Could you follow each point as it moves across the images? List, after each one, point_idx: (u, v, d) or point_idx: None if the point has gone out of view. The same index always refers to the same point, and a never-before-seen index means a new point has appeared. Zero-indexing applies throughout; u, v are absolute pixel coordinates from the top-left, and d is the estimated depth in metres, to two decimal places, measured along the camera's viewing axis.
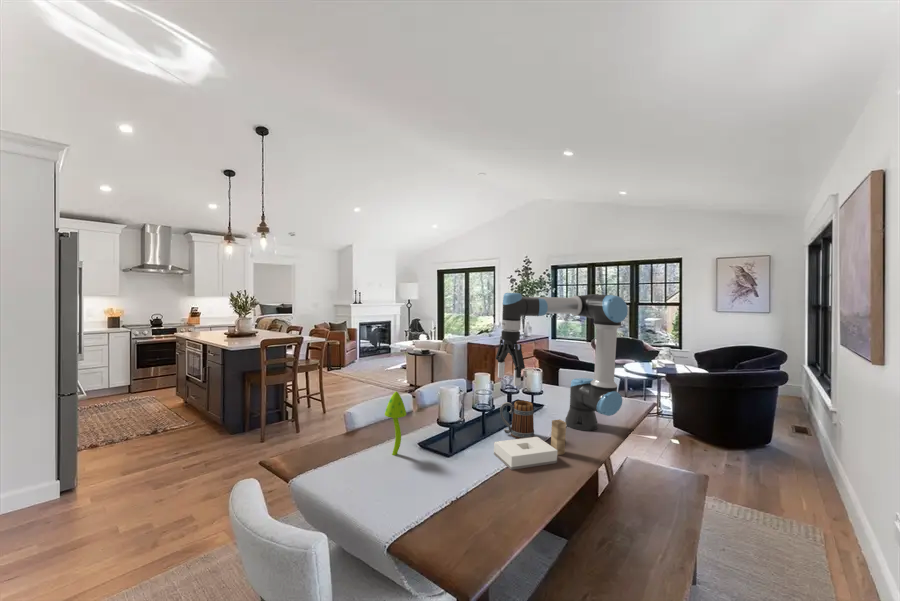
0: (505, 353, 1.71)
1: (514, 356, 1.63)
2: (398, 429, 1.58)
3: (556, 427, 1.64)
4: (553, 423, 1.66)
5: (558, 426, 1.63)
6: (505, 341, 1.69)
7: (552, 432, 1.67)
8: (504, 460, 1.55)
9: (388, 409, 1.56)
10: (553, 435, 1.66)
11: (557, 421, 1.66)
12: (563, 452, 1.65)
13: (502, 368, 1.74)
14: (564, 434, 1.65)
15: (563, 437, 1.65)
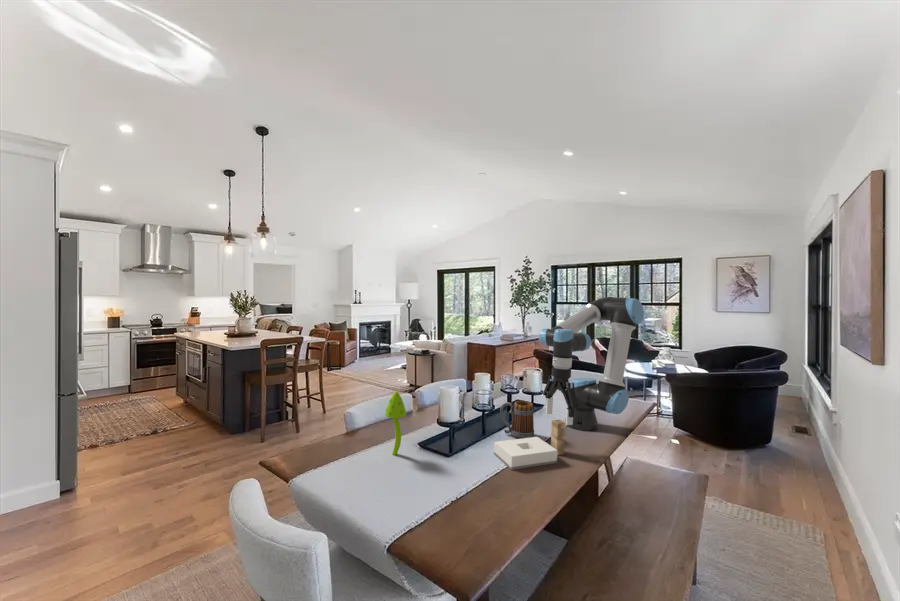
0: (554, 390, 1.69)
1: (566, 394, 1.60)
2: (398, 429, 1.58)
3: (556, 427, 1.64)
4: (553, 423, 1.66)
5: (558, 426, 1.63)
6: (555, 378, 1.66)
7: (552, 432, 1.67)
8: (504, 460, 1.55)
9: (388, 409, 1.56)
10: (553, 435, 1.66)
11: (557, 421, 1.66)
12: (563, 452, 1.65)
13: (550, 404, 1.71)
14: (564, 434, 1.65)
15: (563, 437, 1.65)
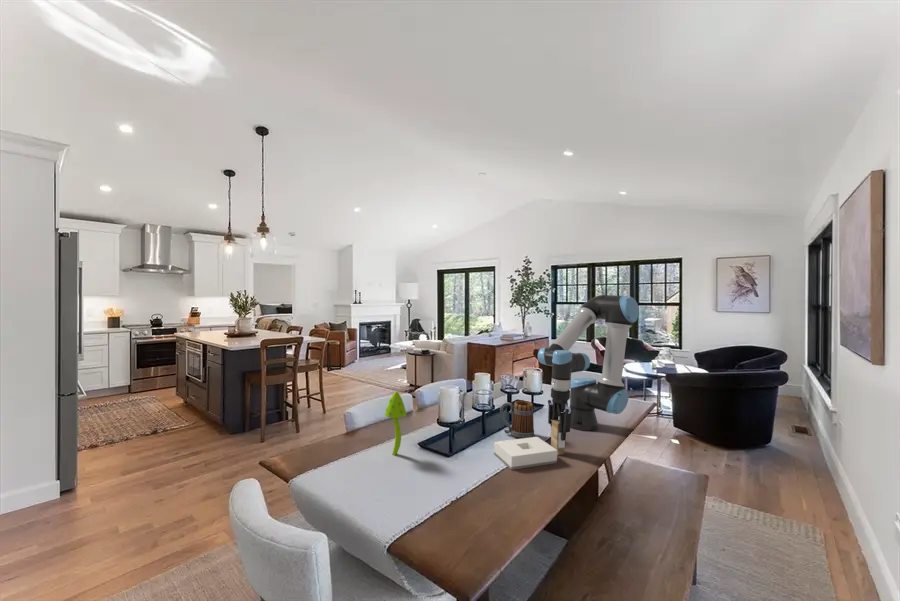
0: (556, 414, 1.67)
1: (562, 418, 1.63)
2: (398, 429, 1.58)
3: (556, 427, 1.64)
4: (553, 423, 1.66)
5: (558, 426, 1.63)
6: None
7: (552, 431, 1.67)
8: (504, 460, 1.55)
9: (388, 409, 1.56)
10: (553, 435, 1.66)
11: (557, 421, 1.66)
12: (563, 452, 1.65)
13: None
14: None
15: None
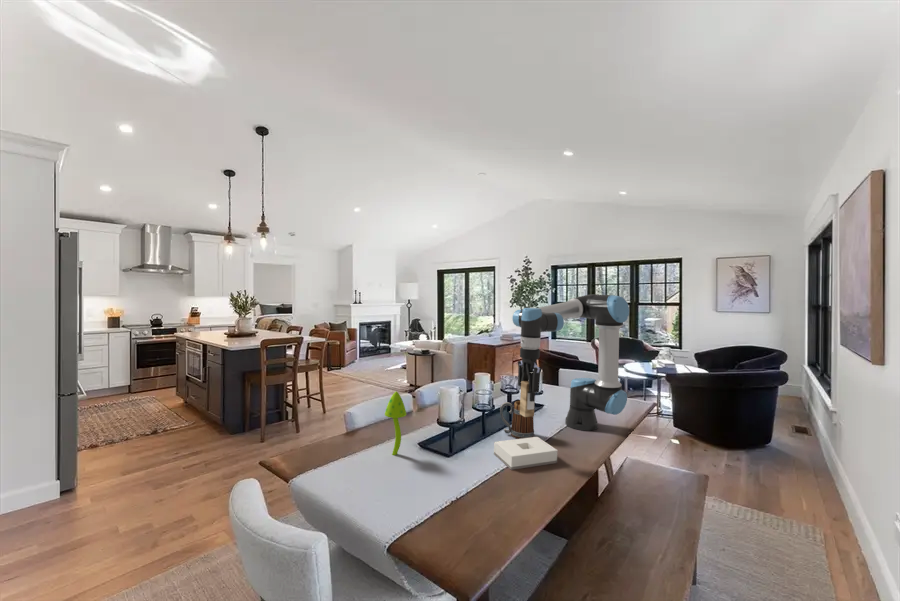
0: (526, 375, 1.60)
1: (531, 378, 1.55)
2: (398, 429, 1.58)
3: (525, 387, 1.56)
4: (522, 384, 1.58)
5: (527, 386, 1.56)
6: (523, 358, 1.60)
7: (521, 393, 1.59)
8: (504, 460, 1.55)
9: (388, 409, 1.56)
10: (522, 396, 1.58)
11: (526, 382, 1.58)
12: (532, 414, 1.57)
13: None
14: None
15: None
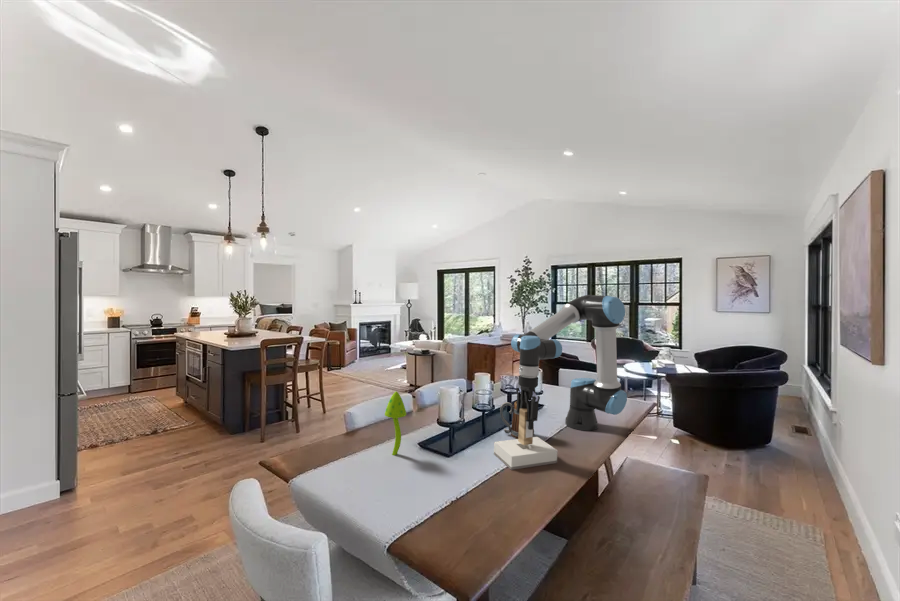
0: (525, 402, 1.60)
1: (529, 406, 1.56)
2: (398, 429, 1.58)
3: (524, 415, 1.57)
4: (521, 411, 1.59)
5: (525, 414, 1.56)
6: (521, 385, 1.60)
7: (519, 420, 1.60)
8: (504, 460, 1.55)
9: (388, 409, 1.56)
10: (521, 424, 1.59)
11: (525, 409, 1.59)
12: (531, 442, 1.58)
13: None
14: None
15: None
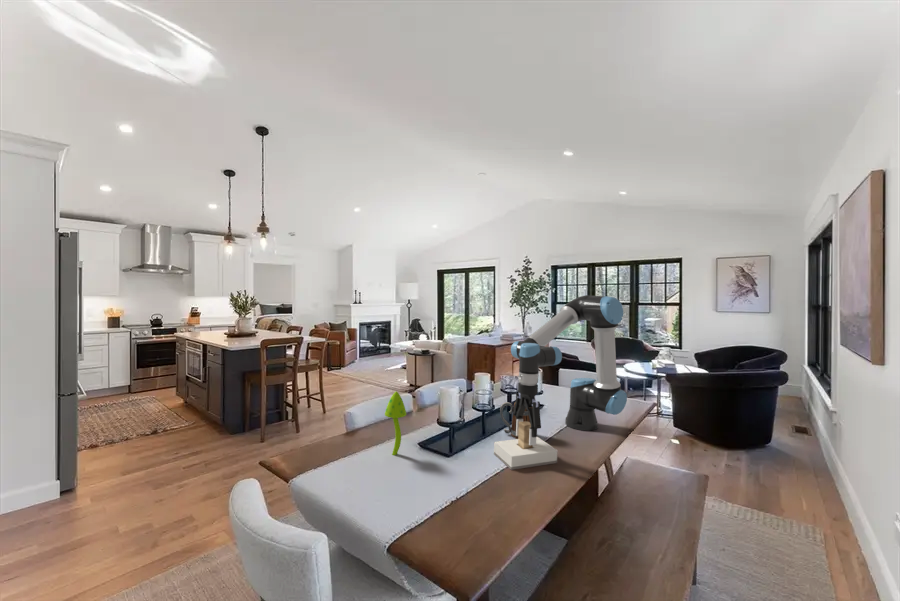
0: (523, 408, 1.61)
1: (531, 413, 1.55)
2: (398, 429, 1.58)
3: (523, 429, 1.57)
4: (520, 425, 1.59)
5: (524, 428, 1.57)
6: (522, 393, 1.60)
7: (519, 434, 1.60)
8: (504, 460, 1.55)
9: (388, 409, 1.56)
10: (520, 437, 1.59)
11: (524, 423, 1.59)
12: None
13: None
14: None
15: None
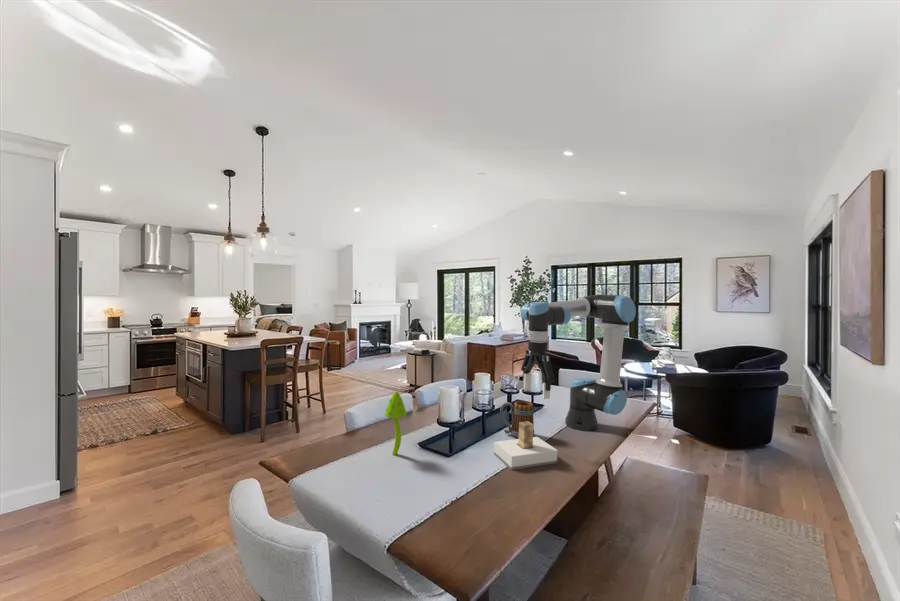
0: (532, 364, 1.66)
1: (542, 368, 1.57)
2: (398, 429, 1.58)
3: (523, 429, 1.57)
4: (520, 425, 1.59)
5: (525, 428, 1.57)
6: (532, 352, 1.63)
7: (519, 434, 1.60)
8: (504, 460, 1.55)
9: (388, 409, 1.56)
10: (520, 437, 1.59)
11: (524, 423, 1.59)
12: None
13: (528, 379, 1.69)
14: (531, 437, 1.58)
15: (530, 440, 1.58)
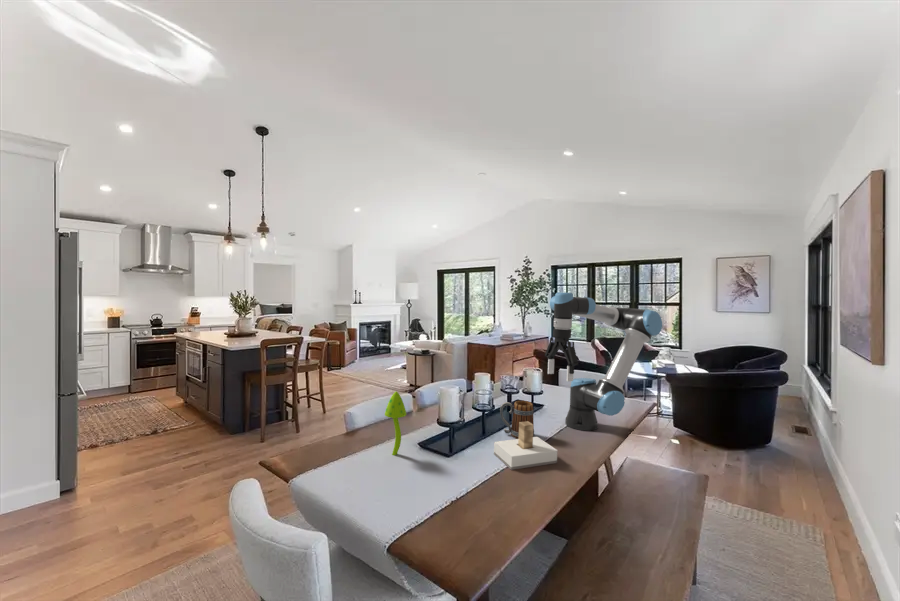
0: (555, 350, 1.78)
1: (567, 353, 1.70)
2: (398, 429, 1.58)
3: (523, 429, 1.57)
4: (520, 425, 1.59)
5: (525, 428, 1.57)
6: (556, 339, 1.76)
7: (519, 434, 1.60)
8: (504, 460, 1.55)
9: (388, 409, 1.56)
10: (520, 437, 1.59)
11: (524, 423, 1.59)
12: None
13: (552, 365, 1.81)
14: (531, 437, 1.58)
15: (530, 440, 1.58)
